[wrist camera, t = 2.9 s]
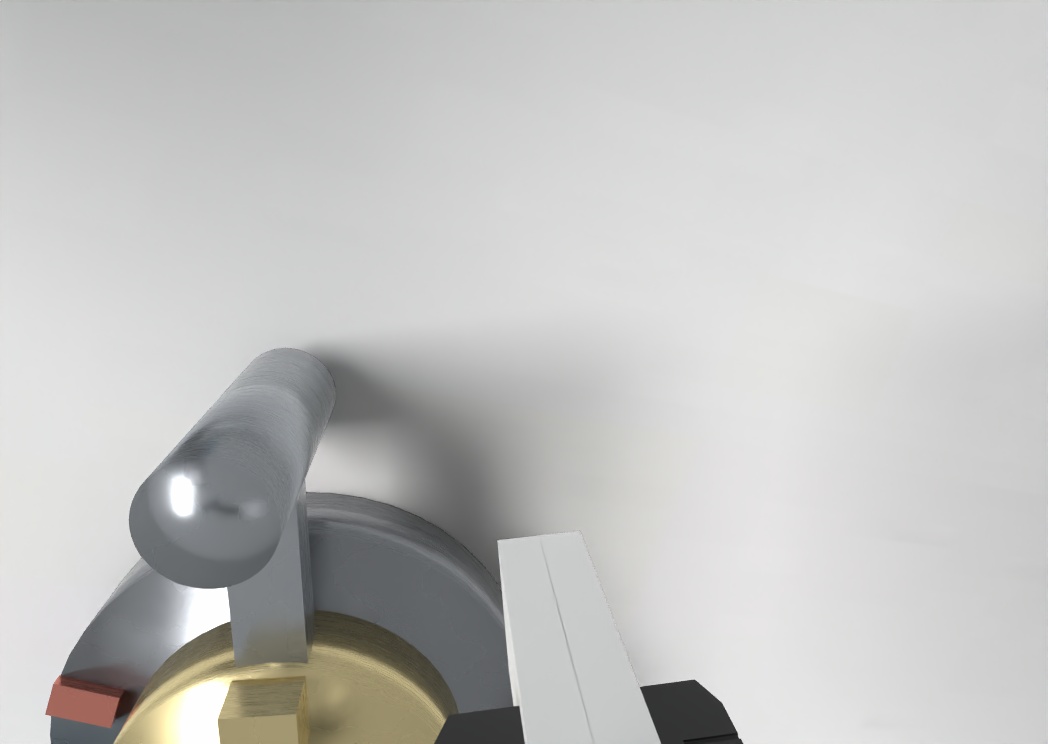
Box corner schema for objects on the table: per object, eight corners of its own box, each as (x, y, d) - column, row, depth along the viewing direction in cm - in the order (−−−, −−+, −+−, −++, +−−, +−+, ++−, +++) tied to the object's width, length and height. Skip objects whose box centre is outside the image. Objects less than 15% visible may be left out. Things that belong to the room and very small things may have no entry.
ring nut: (461, 808, 29) (471, 1077, 21) (171, 832, 28) (55, 1128, 20) (458, 346, 24) (471, 451, 16) (102, 349, 23) (-100, 466, 14)
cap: (59, 500, 25) (3, 551, 22) (527, 485, 27) (540, 530, 24) (121, 865, 30) (82, 952, 26) (519, 831, 31) (529, 909, 28)
